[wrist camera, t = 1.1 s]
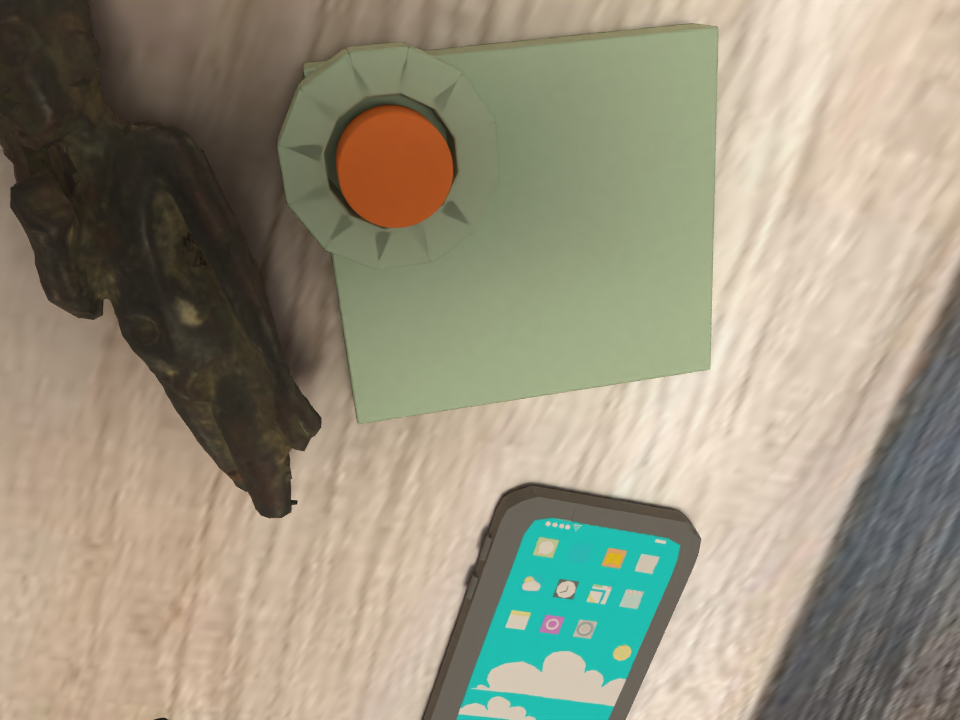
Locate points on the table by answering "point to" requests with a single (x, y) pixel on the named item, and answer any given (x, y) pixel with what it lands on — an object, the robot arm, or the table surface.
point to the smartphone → (564, 609)
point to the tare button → (393, 166)
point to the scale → (522, 216)
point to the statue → (146, 247)
